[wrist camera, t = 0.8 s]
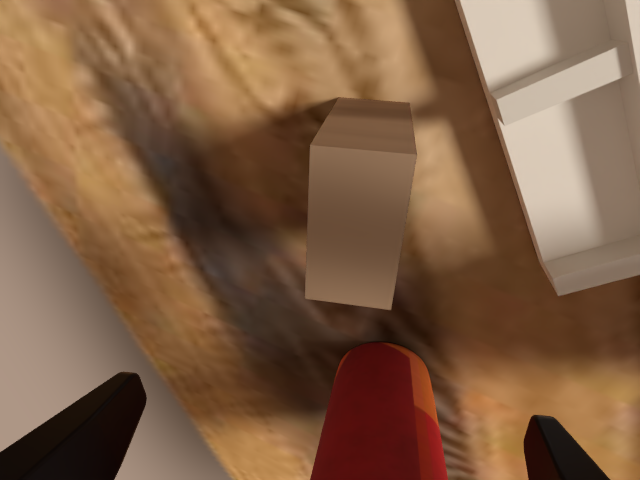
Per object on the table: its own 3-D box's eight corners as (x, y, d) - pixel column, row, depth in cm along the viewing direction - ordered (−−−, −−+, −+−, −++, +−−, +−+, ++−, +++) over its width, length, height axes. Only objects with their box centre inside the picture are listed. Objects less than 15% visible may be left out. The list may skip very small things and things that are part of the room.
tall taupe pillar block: (336, 97, 18) (307, 144, 12) (409, 102, 17) (417, 154, 11) (329, 212, 21) (302, 298, 15) (392, 218, 20) (390, 310, 14)
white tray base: (573, -259, 12) (623, -332, 9) (659, 227, 18) (702, 263, 16) (407, -145, 14) (410, -179, 11) (539, 262, 20) (560, 300, 17)
